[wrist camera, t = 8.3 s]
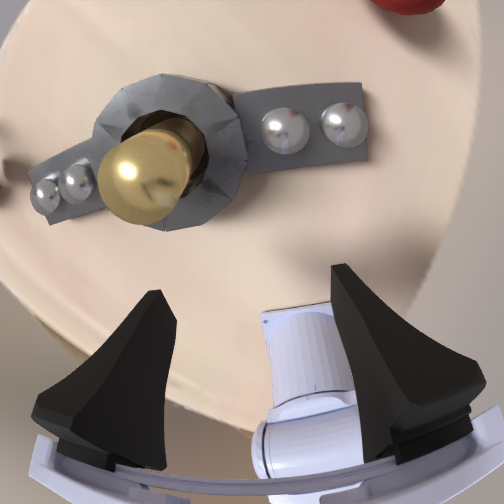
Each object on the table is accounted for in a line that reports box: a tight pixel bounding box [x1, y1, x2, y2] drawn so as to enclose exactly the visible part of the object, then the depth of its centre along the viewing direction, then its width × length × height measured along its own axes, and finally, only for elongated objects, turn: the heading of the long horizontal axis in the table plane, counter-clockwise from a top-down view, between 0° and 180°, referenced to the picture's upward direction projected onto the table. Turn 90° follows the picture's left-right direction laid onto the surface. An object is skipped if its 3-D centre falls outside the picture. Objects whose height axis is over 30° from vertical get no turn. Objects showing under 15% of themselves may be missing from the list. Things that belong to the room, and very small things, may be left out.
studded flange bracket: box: [27, 74, 369, 232], centre depth 15 cm, size 9×24×3 cm, turn 100°
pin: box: [98, 118, 204, 225], centre depth 14 cm, size 4×4×7 cm
